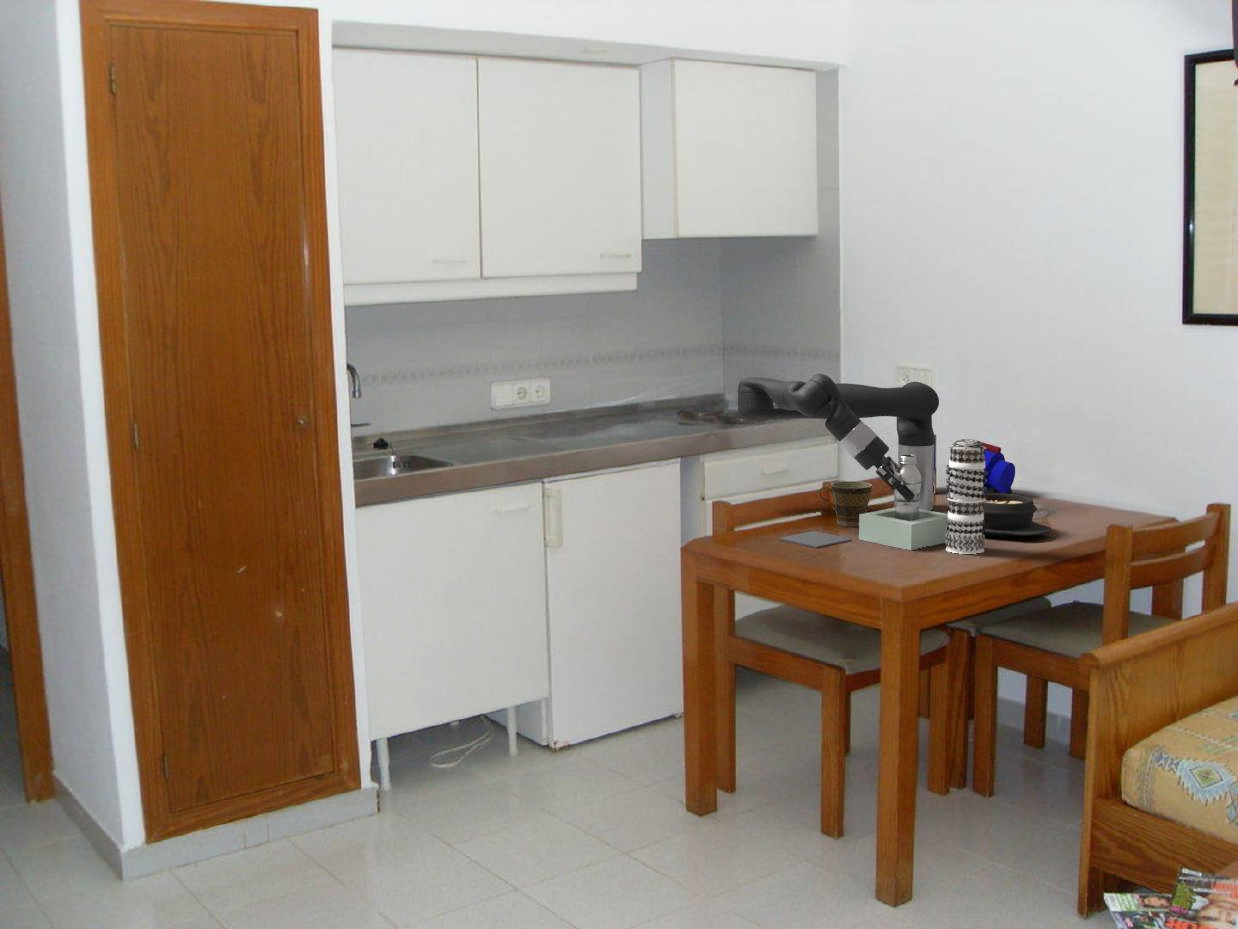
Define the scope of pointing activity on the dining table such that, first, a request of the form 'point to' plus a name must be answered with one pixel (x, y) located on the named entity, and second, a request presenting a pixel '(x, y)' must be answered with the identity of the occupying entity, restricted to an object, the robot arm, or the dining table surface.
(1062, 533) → the dining table surface
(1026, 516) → the casserole
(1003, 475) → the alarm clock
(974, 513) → the black and white cylinder
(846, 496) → the ceramic cup
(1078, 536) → the dining table surface
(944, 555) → the dining table surface
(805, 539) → the rubber mat
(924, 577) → the dining table surface
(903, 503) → the plastic bottle
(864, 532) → the holder block
